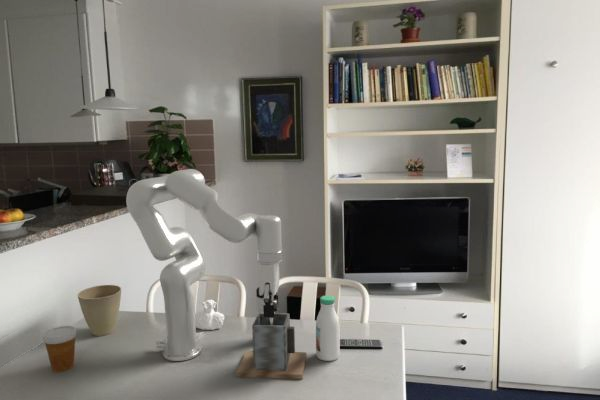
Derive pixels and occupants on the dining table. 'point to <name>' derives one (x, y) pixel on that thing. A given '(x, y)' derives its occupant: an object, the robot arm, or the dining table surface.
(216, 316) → the bust
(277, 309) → the knob on square base
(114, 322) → the plant pot
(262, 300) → the travel mug
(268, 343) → the stand
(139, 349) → the dining table surface
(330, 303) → the milk bottle
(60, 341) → the disposable coffee cup
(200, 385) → the dining table surface
